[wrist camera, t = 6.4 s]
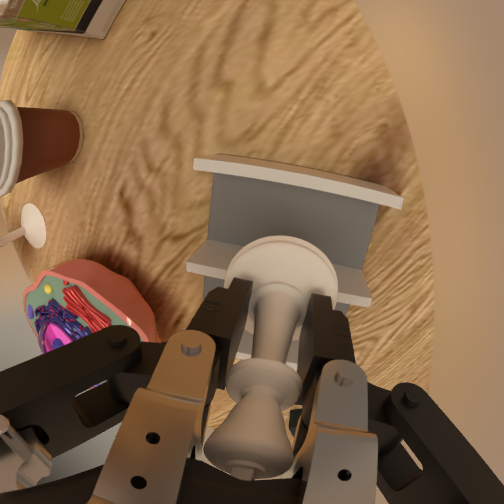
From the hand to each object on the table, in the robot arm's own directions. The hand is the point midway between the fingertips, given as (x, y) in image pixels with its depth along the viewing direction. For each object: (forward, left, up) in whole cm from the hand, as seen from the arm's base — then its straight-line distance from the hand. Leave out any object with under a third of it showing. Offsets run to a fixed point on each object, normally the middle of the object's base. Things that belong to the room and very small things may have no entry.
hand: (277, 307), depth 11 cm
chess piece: (0, 0, -2) cm, 2 cm away
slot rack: (+4, 0, -15) cm, 15 cm away
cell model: (+15, -19, -15) cm, 28 cm away
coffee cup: (-5, -26, -15) cm, 30 cm away
